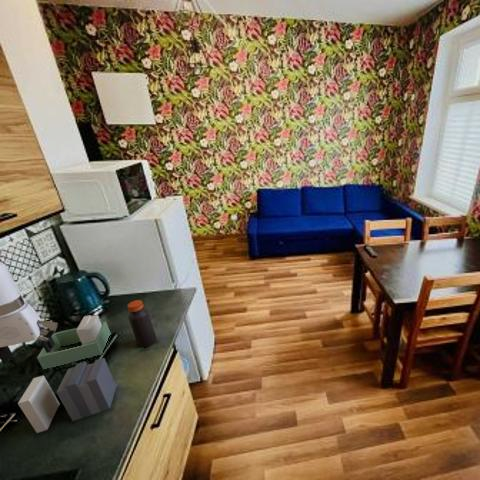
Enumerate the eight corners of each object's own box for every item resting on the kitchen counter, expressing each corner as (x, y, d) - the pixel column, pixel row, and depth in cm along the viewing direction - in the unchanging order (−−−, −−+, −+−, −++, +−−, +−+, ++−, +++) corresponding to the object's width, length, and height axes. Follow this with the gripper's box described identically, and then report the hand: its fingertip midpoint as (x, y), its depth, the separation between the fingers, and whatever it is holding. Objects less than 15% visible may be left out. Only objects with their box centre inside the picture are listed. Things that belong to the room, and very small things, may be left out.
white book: (36, 433, 79) (17, 403, 74) (50, 406, 87) (33, 378, 82) (47, 429, 80) (28, 400, 75) (59, 403, 88) (43, 375, 83)
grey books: (72, 421, 82) (54, 389, 77) (82, 396, 90) (67, 366, 84) (109, 409, 86) (95, 377, 80) (116, 386, 93) (103, 356, 88)
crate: (45, 373, 99) (36, 357, 96) (60, 347, 110) (53, 333, 107) (102, 357, 105) (96, 342, 102) (111, 335, 117) (106, 321, 114)
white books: (87, 356, 105) (75, 330, 100) (94, 341, 113) (83, 316, 108) (101, 352, 107) (90, 327, 102) (107, 338, 114) (97, 313, 109)
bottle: (143, 337, 115) (130, 299, 108) (159, 336, 116) (148, 298, 108) (134, 349, 109) (120, 309, 101) (152, 348, 110) (139, 308, 102)
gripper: (-53, 322, 66) (-20, 373, 72) (37, 306, 72) (61, 354, 78) (-31, 305, 72) (-2, 353, 79) (51, 292, 78) (71, 337, 85)
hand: (29, 353), depth 78 cm, fingers open, 9 cm apart
